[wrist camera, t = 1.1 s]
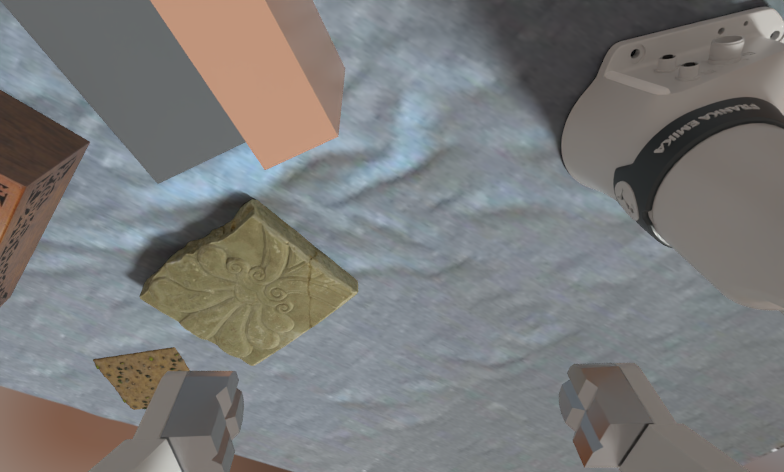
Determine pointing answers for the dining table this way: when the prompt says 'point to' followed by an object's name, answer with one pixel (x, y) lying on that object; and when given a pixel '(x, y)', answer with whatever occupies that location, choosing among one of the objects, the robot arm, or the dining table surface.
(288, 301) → the decorative tile
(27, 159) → the tissue box cover
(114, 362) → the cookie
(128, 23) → the slate mat
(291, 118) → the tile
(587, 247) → the dining table surface
